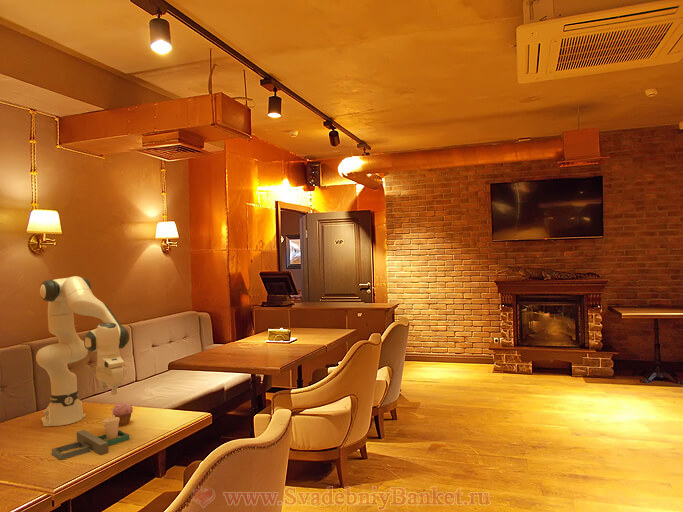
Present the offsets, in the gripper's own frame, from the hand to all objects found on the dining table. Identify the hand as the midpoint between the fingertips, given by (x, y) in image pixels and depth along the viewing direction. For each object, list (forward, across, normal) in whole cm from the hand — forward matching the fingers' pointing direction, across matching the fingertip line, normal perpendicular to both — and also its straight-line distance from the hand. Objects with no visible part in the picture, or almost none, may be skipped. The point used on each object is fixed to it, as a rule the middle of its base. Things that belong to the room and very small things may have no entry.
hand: (109, 392), depth 208 cm
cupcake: (+21, -18, +13) cm, 31 cm away
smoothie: (+21, +2, 0) cm, 21 cm away
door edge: (+21, 0, -8) cm, 22 cm away
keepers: (+21, 0, -8) cm, 22 cm away
